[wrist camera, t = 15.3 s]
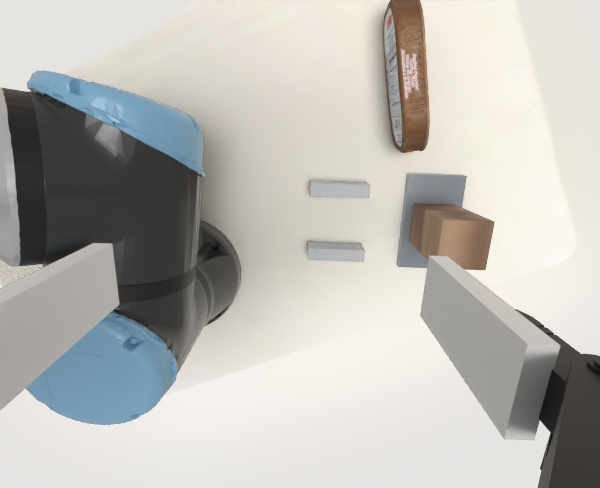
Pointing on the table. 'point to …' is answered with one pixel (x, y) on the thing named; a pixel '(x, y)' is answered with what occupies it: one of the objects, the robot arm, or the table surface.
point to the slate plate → (427, 192)
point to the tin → (406, 74)
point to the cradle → (337, 249)
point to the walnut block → (451, 234)
